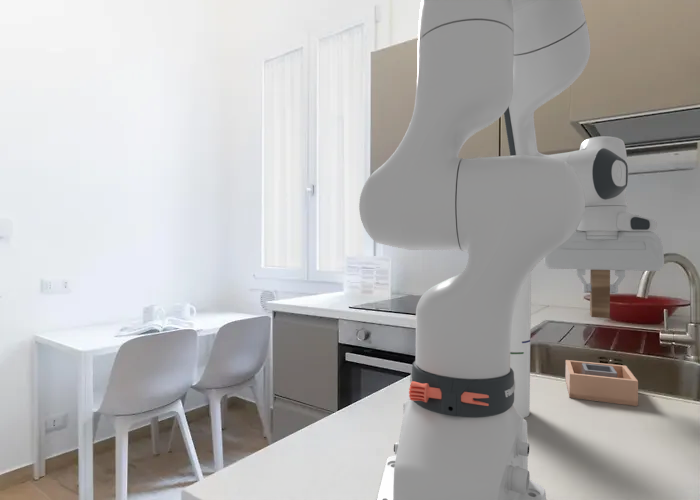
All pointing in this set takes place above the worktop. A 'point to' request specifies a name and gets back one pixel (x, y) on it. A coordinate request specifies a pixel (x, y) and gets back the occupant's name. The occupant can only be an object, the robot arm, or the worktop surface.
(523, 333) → the cylindrical container
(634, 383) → the pink planter box
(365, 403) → the worktop surface
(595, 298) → the tall wooden post
